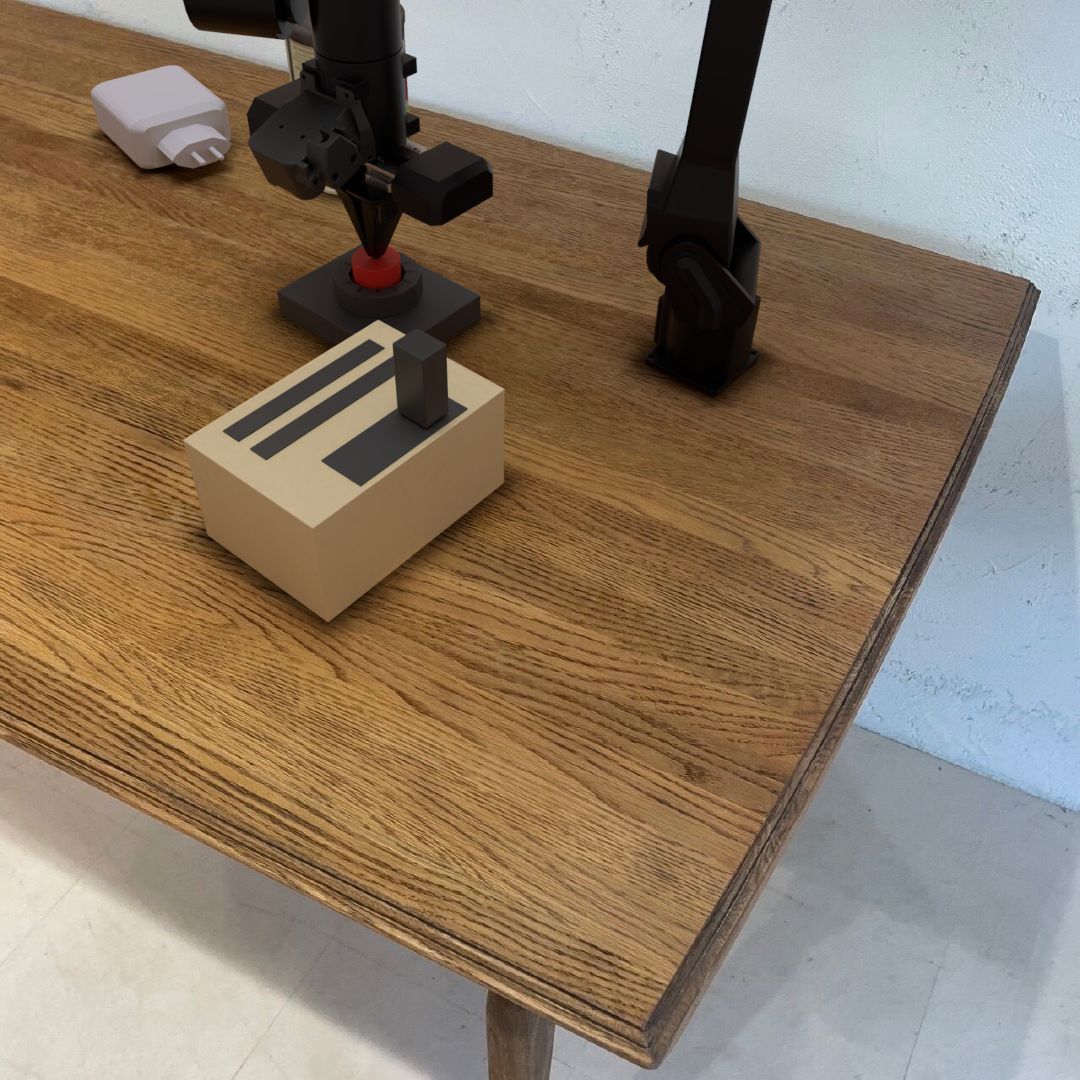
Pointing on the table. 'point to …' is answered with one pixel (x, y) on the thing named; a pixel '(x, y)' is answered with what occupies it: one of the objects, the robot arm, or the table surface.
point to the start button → (376, 269)
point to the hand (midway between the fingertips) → (376, 255)
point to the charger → (163, 118)
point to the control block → (378, 302)
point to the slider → (421, 377)
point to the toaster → (344, 471)
